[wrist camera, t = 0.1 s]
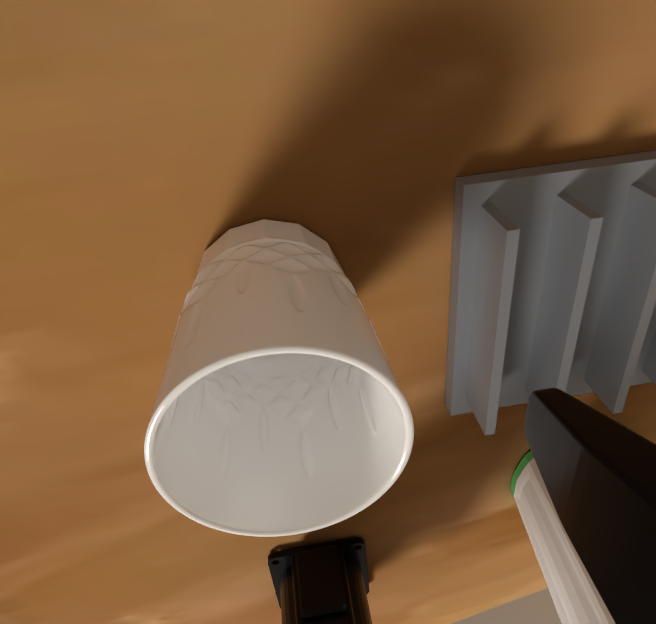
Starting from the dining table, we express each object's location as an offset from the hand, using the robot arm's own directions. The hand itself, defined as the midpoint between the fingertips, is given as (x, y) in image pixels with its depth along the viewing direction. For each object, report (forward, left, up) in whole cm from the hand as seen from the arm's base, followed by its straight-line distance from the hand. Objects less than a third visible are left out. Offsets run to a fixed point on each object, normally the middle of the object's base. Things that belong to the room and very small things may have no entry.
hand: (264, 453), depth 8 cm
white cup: (-5, 0, -15) cm, 16 cm away
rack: (-8, -14, -15) cm, 22 cm away
